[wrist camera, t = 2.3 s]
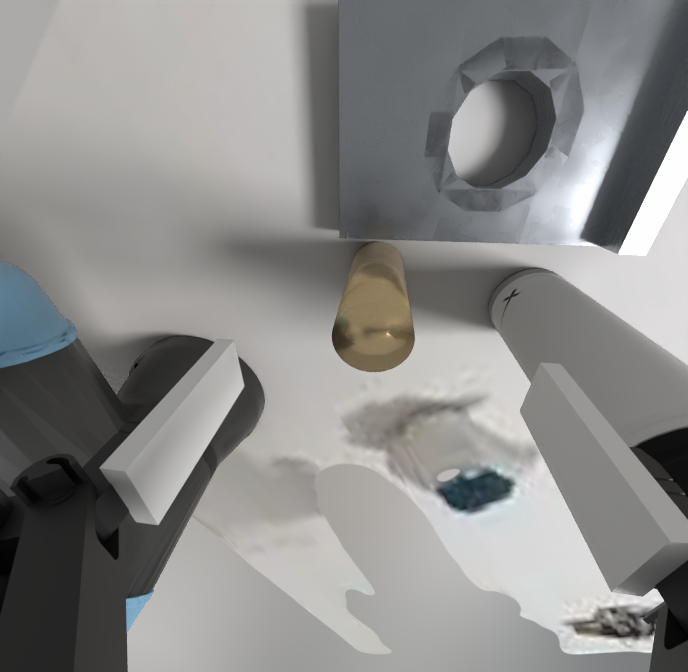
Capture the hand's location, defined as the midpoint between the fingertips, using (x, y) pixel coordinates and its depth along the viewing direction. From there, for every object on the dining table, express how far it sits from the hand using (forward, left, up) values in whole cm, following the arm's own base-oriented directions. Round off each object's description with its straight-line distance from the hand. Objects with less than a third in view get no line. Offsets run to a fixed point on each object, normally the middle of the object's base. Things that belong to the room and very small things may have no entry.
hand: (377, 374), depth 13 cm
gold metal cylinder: (0, 0, -15) cm, 15 cm away
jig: (+7, +9, -15) cm, 19 cm away
